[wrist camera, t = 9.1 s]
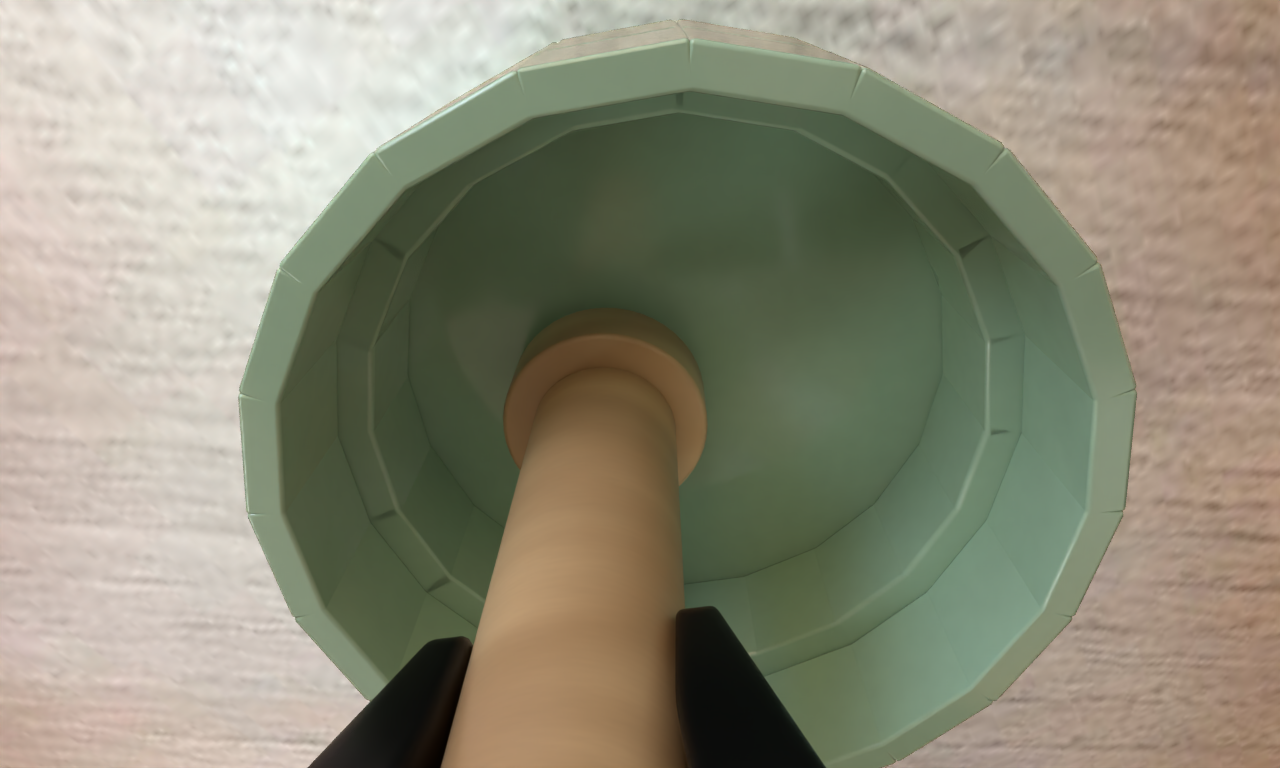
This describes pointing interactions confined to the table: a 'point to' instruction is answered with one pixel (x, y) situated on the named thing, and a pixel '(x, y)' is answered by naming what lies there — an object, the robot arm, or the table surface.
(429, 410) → the bowl
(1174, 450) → the table surface
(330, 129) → the table surface
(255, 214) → the table surface
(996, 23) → the table surface
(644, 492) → the handle grip
